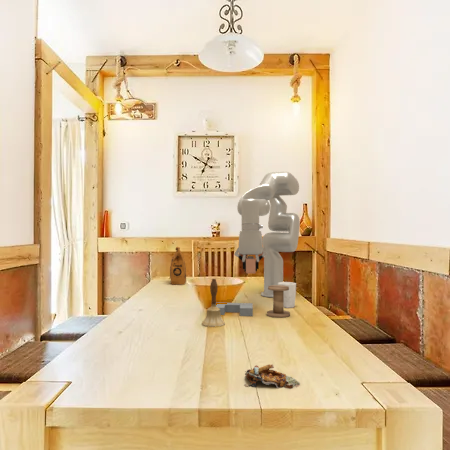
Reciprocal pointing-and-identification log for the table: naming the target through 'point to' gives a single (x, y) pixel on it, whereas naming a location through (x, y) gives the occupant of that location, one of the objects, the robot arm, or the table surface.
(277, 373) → the brown irregular lump
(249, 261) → the copper brown square peg
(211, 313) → the hand bell
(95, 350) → the table surface
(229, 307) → the notch board
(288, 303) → the white cup
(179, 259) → the coffee package
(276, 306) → the bobbin
